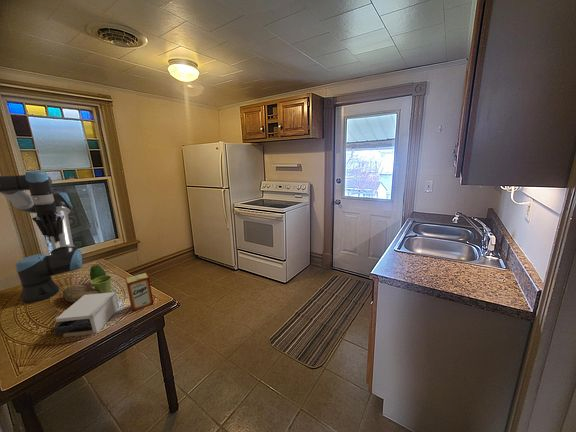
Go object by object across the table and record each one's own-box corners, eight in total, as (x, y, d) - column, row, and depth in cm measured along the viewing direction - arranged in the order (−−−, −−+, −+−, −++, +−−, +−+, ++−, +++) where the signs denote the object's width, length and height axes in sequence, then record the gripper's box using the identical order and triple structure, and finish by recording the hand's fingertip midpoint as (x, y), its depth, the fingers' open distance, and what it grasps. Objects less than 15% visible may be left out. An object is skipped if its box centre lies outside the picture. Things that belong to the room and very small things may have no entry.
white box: (59, 337, 104) (54, 319, 102) (88, 310, 123) (84, 294, 120) (96, 333, 106) (91, 315, 104) (119, 307, 125) (115, 292, 122)
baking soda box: (132, 311, 121) (126, 282, 117) (130, 305, 126) (125, 277, 122) (153, 303, 127) (148, 276, 123) (151, 298, 132) (146, 271, 128)
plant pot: (103, 298, 133) (99, 284, 131) (90, 296, 135) (86, 282, 133) (118, 289, 142) (115, 276, 139) (105, 287, 144) (102, 274, 142)
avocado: (88, 284, 148) (84, 266, 145) (101, 278, 155) (97, 261, 152) (98, 286, 146) (93, 268, 143) (110, 280, 153) (106, 262, 150)
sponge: (62, 301, 134) (68, 307, 121) (61, 286, 134) (67, 291, 121) (91, 294, 144) (100, 300, 131) (91, 281, 144) (99, 285, 131)
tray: (55, 334, 106) (53, 328, 106) (74, 316, 118) (73, 311, 117) (95, 330, 108) (93, 324, 108) (110, 313, 120) (109, 308, 119)
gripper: (22, 205, 114) (36, 251, 121) (52, 204, 116) (65, 249, 122) (36, 202, 122) (48, 245, 128) (64, 201, 123) (75, 244, 129)
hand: (56, 247), depth 125 cm, fingers closed
